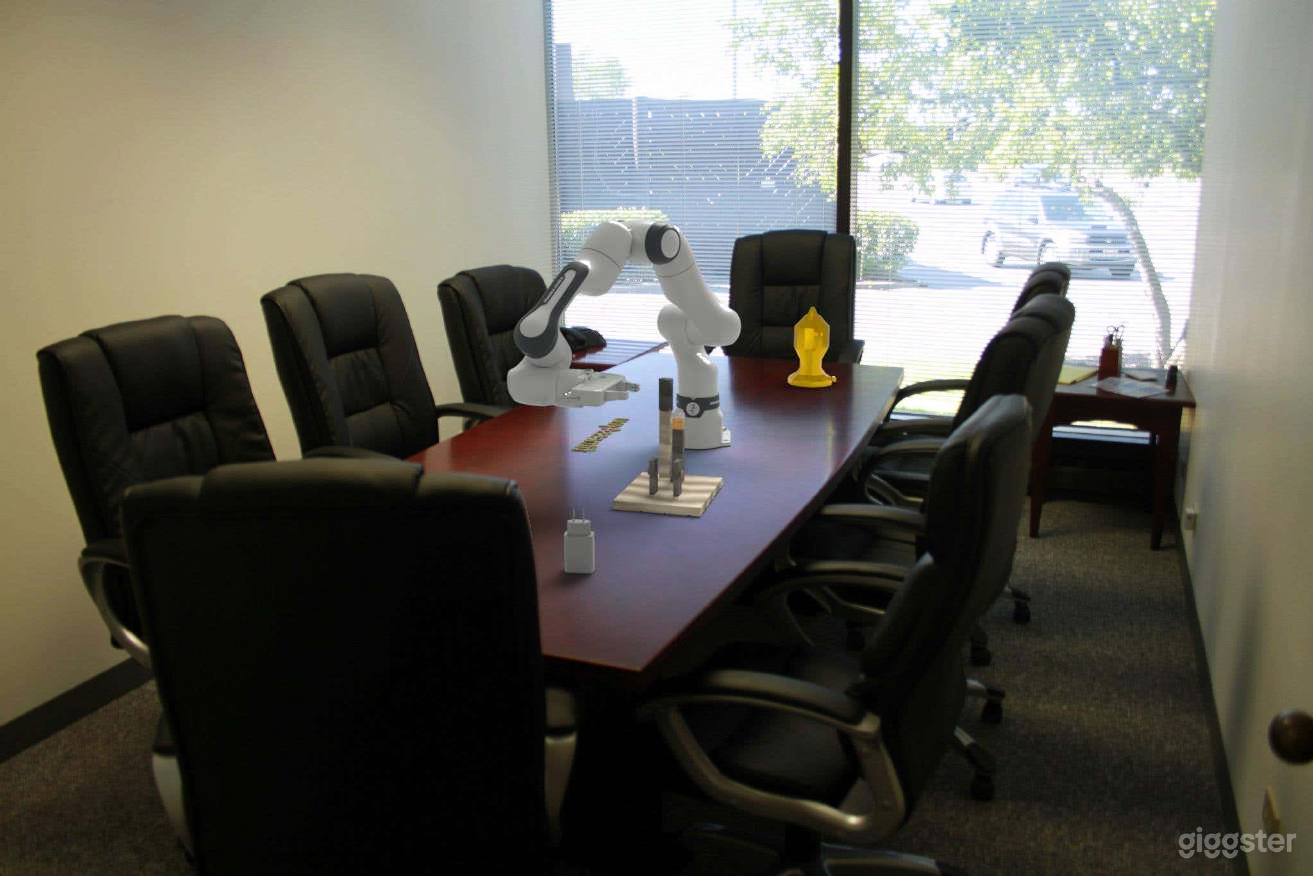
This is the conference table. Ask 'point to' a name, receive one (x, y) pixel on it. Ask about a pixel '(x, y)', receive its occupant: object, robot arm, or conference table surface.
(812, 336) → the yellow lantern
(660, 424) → the lever
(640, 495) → the frame
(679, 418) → the pin
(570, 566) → the power adapter
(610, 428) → the text sign
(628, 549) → the conference table surface
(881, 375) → the conference table surface
